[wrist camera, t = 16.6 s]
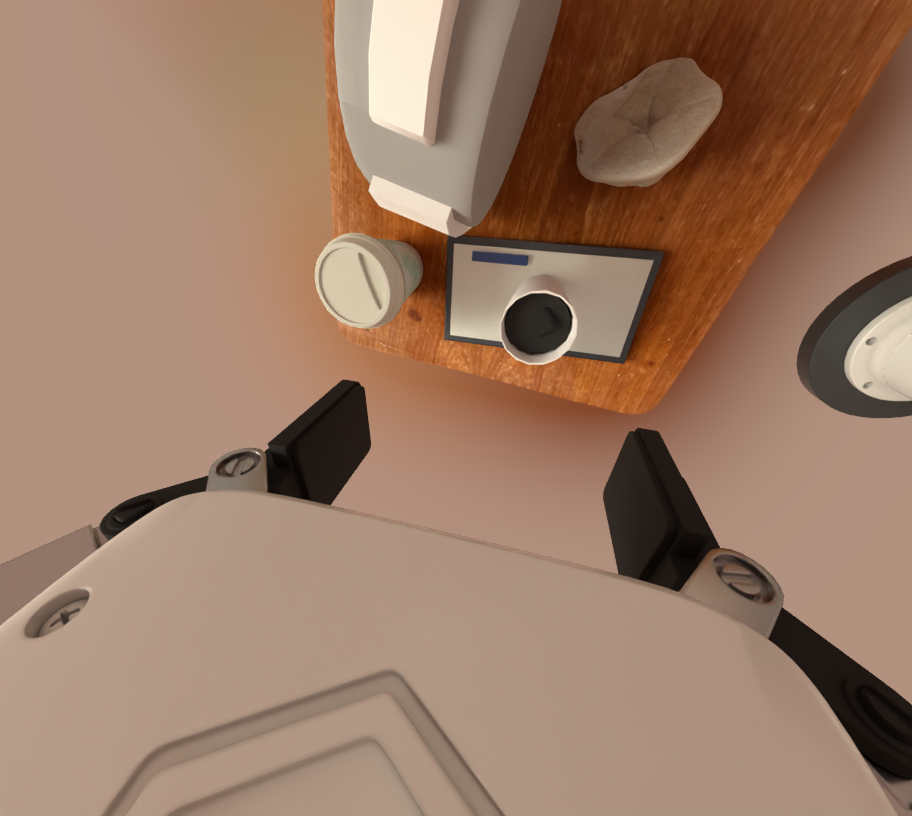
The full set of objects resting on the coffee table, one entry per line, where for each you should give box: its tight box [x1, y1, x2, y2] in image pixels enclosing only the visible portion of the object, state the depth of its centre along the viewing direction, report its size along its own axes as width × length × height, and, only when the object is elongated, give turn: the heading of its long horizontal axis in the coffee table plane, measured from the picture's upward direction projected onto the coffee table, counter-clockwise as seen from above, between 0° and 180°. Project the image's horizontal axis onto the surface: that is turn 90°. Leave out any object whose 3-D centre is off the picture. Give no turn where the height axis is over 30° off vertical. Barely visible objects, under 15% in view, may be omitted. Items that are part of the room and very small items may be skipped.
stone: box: [574, 57, 723, 187], centre depth 26 cm, size 10×7×10 cm
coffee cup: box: [315, 233, 423, 329], centre depth 34 cm, size 8×8×12 cm
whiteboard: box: [444, 235, 665, 364], centre depth 36 cm, size 22×12×2 cm, turn 87°
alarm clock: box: [334, 0, 562, 238], centre depth 22 cm, size 18×8×20 cm, turn 161°
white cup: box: [500, 275, 578, 364], centre depth 32 cm, size 7×7×10 cm
